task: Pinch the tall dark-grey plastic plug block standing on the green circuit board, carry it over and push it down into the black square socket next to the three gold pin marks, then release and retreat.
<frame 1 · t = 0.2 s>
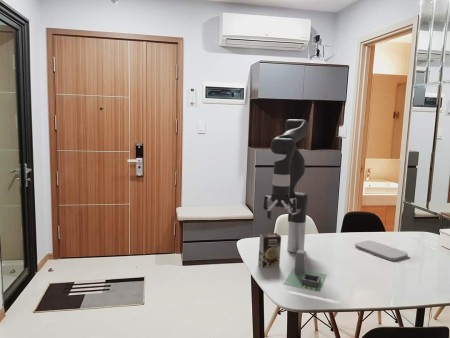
hand: (279, 220, 160), 28 cm above the table, fingers open, 8 cm apart
plug: (299, 272, 171), point 1 cm above the table, touching board
coffee box: (268, 266, 180), on the table
board: (305, 281, 164), on the table
tablet: (380, 252, 206), on the table
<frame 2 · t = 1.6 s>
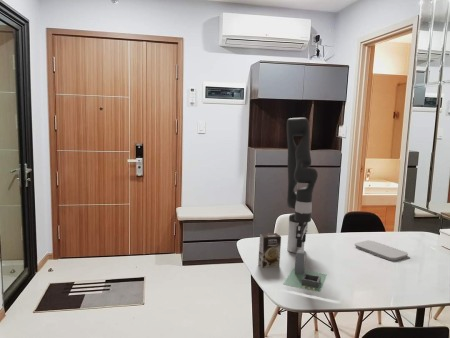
hand: (301, 244, 169), 15 cm above the table, fingers open, 8 cm apart
nothing on the table moved.
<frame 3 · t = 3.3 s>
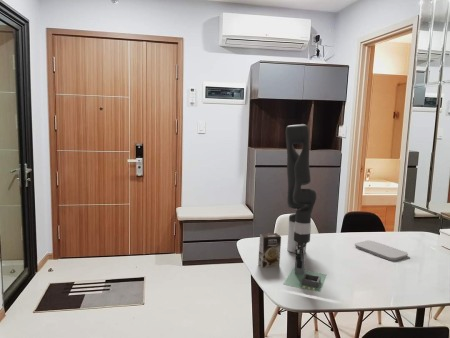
hand: (300, 266, 170), 4 cm above the table, fingers closed on plug, 4 cm apart
plug: (299, 272, 171), point 1 cm above the table, touching board, gripper
everything else where it was.
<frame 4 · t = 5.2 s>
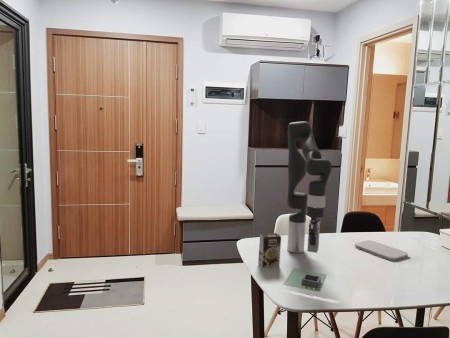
hand: (313, 243, 157), 19 cm above the table, fingers closed on plug, 4 cm apart
plug: (312, 250, 158), point 16 cm above the table, touching gripper
everything else where it was.
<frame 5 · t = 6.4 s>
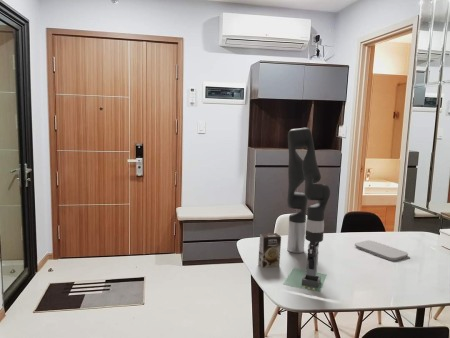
hand: (312, 266, 159), 9 cm above the table, fingers closed on plug, 4 cm apart
plug: (311, 273, 159), point 5 cm above the table, touching gripper
everything else where it was.
when the fingers open (5 cm above the table, at t = 7.4 s): plug stays where it is, resting on board.
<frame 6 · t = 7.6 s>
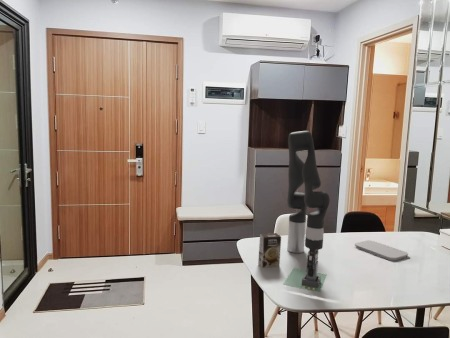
hand: (311, 273, 159), 6 cm above the table, fingers open, 6 cm apart
plug: (311, 283, 160), point 1 cm above the table, touching board
everything else where it was.
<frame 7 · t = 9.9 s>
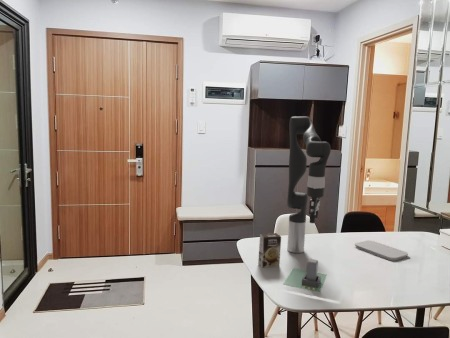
hand: (313, 220, 165), 27 cm above the table, fingers open, 8 cm apart
nothing on the table moved.
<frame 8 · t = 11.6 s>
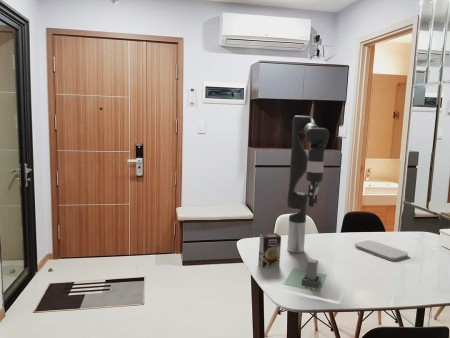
hand: (312, 204, 171), 33 cm above the table, fingers open, 8 cm apart
nothing on the table moved.
at the end: plug 0.1 cm from the target spot on the board, point 1.0 cm above the board's base; plug tilted 0°; the gripper is holding nothing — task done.
